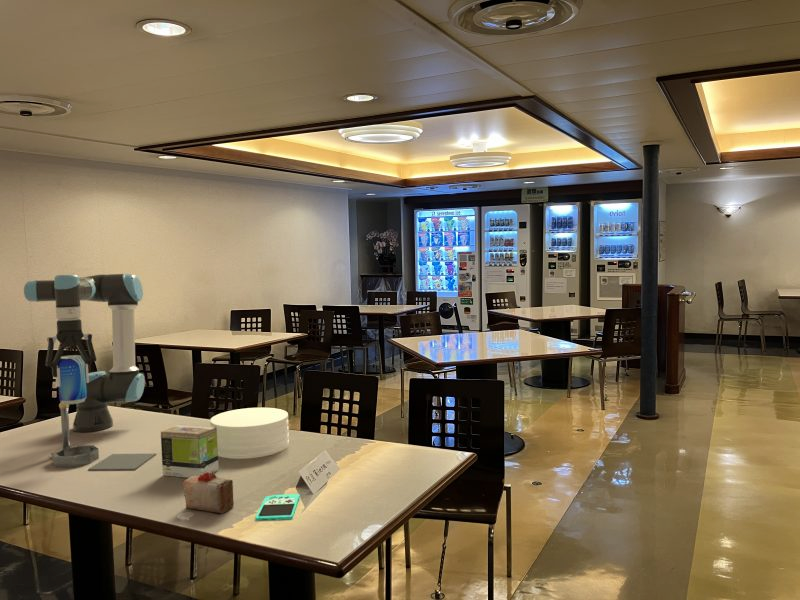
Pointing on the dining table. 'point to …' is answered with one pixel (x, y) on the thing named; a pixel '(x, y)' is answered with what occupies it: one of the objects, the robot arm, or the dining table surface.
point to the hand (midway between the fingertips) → (72, 384)
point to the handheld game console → (278, 507)
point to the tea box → (189, 450)
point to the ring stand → (72, 454)
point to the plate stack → (251, 432)
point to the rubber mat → (122, 462)
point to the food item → (208, 493)
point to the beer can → (72, 379)
